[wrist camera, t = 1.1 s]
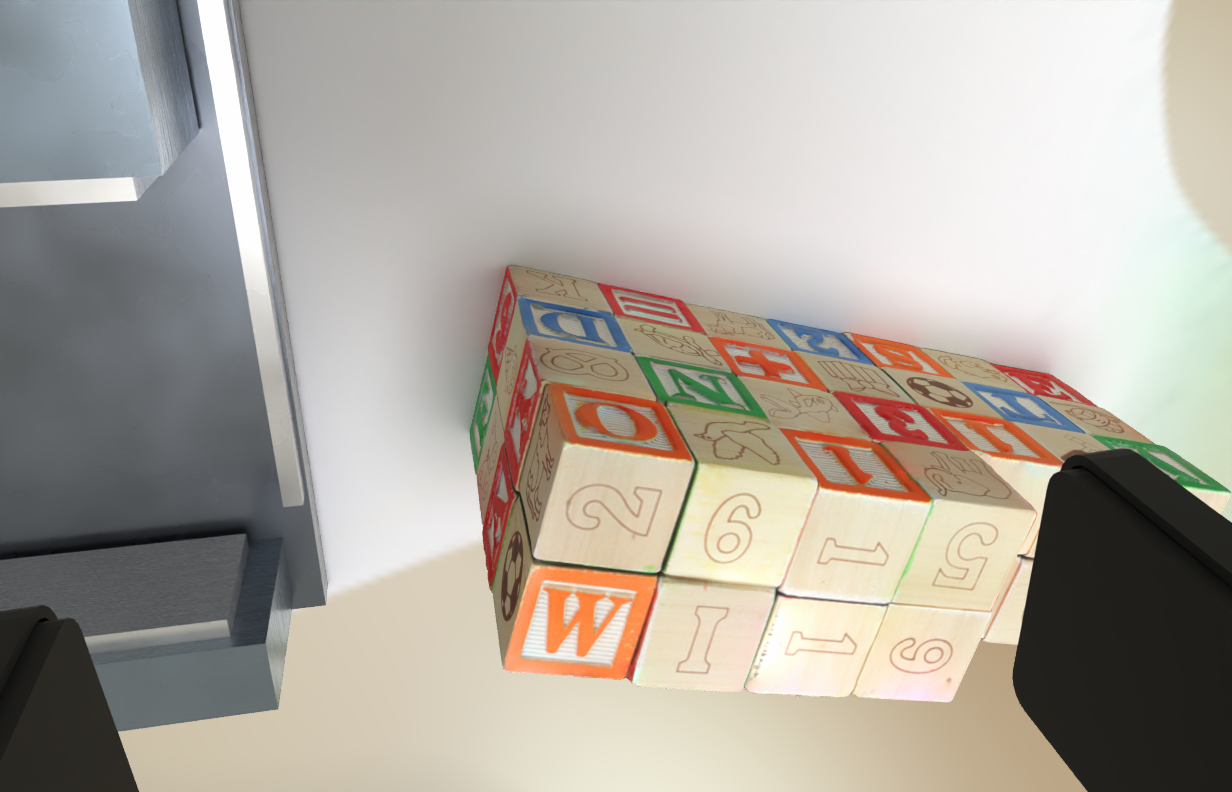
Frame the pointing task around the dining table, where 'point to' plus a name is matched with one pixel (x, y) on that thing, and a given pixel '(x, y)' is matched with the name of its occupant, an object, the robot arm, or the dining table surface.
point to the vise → (161, 418)
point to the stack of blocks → (760, 495)
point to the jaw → (90, 99)
